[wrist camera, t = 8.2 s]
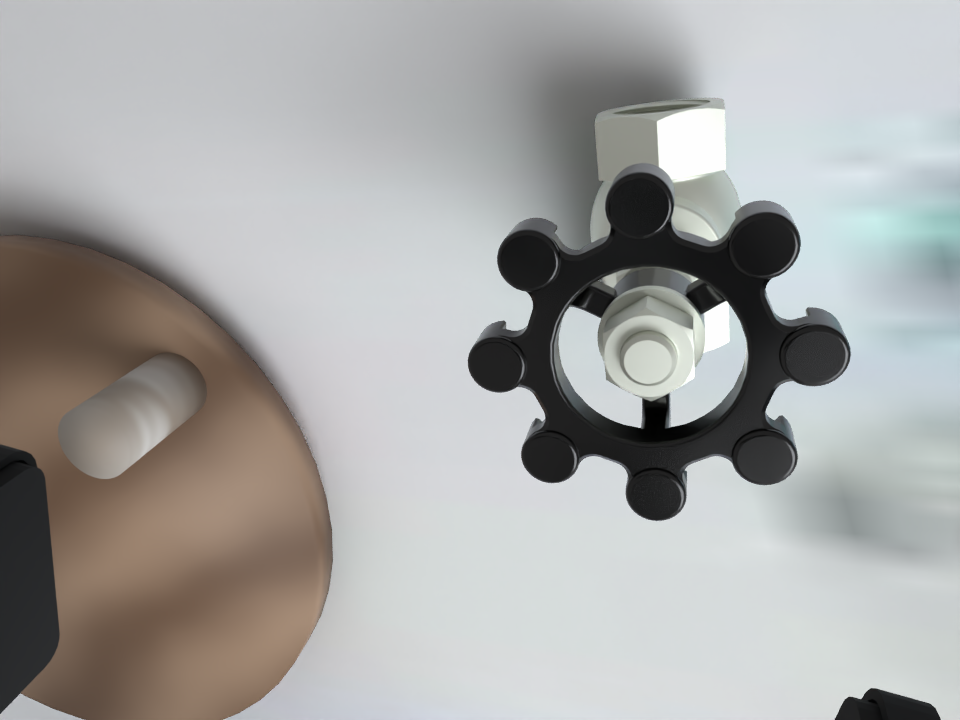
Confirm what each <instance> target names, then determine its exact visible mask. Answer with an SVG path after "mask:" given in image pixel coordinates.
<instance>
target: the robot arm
mask: <svg viewBox="0 0 960 720" xmlns="http://www.w3.org/2000/svg"><path fill="white" fill-rule="evenodd" d="M59 638H60V631H59V620H58V610H57V599H56V588H55V577H54V567H53V556H52V545H51V535H50V524H49V513H48V502H47V492H46V481H45V476H44V473H43V472H42V470H41V469H39V468H37V464H36V460H35V458H34V457H33V456H32V454H30V453H28V452H26V451H23V450H19V449H16V448H12V447H9V446H5V445H1V444H0V713H1V712H2V711H3V710H4V709H5V708H6V707H7V706H8V705H9V704H10V703H11V702H12V701H13V700H14V699H15V698H16V697H17V696H18V695H19V694H20V693H21V692H22V691H23V690H24V689H25V688H26V687H27V686H28V685H29V684H30V683H31V682H32V681H33V680H34V678H35V677H36V676H37V675H38V674H39V673H40V672H41V671H42V670H43V669H44V668H45V667H46V666H47V665H48V663H49V662H50V661H51V659H52V657H53V656H54V654H55V652H56V649H57V647H58V643H59ZM835 720H941V719H940V717H939V715H938V713H937V711H936V709H935V708H934V707H933V706H932V705H931V704H929V703H926V702H922V701H919V700H915V699H911V698H908V697H904V696H901V695H897V694H893V693H890V692H886V691H883V690H879V689H874V688H871V689H869V690H868V691H867V692H866V693H865V694H864V696H863V698H862V699H857V698H854V697H848V698H847V699H845V701H844V702H843V704H842V706H841V708H840V710H839V712H838V714H837V716H836V718H835Z"/></svg>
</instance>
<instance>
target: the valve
mask: <svg viewBox="0 0 960 720" xmlns="http://www.w3.org/2000/svg"><path fill="white" fill-rule="evenodd" d="M594 124H595V137H596V151H597V164H598V178H599V181H603V183H602V185H601V187H600V189H599V190H598V193H597V196H596V198H595V201H594V204H593V209H592V213H591V222H590V235H591V243H590V244H588V245H586V246H585V247H583V248H582V249H580V250H572V249H569V248H567V247H566V246H565V245H564V244H563V243H562V242H561V241H560V239H559V238H558V236H557V235H556V234H555V231H556V230H557V226H556V225H555V224H554V223H552V222H550V221H548V220H546V219H542V218H530V219H527V220H524V221H522V222H520V223H519V224H517V225H516V226H515V227H514V228H513V230H512V231H511V232H510V233H509V234H508V236H507V237H506V238H505V239H504V241H503V242H502V244H501V245H500V248H499V250H498V255H497V263H498V268H499V271H500V273H501V275H502V277H503V278H504V279H505V280H506V282H507V283H509V284H510V285H511V286H513V287H514V288H516V289H519V290H522V291H526V292H527V293H528V294H529V295H530V296H531V298H532V301H533V310H532V314H531V317H530V320H529V323H528V326H527V327H526V328H524V329H522V330H519V331H511V330H507V329H506V322H505V321H498V322H495V323H492V324H491V325H489V326H488V327H486V328H485V329H484V331H483V332H482V333H481V335H480V337H479V338H478V340H477V341H476V343H475V344H474V346H473V347H472V349H471V351H470V353H469V357H468V368H469V372H470V374H471V376H472V378H473V379H474V380H475V382H476V383H477V384H478V385H480V386H481V387H482V388H484V389H486V390H489V391H492V392H498V393H502V392H508V391H510V390H513V389H515V388H516V387H523V388H526V389H528V390H530V391H531V392H532V393H533V394H534V395H535V396H536V398H537V400H538V402H539V403H540V405H541V407H542V409H543V411H544V413H545V418H546V419H545V420H544V421H543V422H542V421H541V420H540V419H537V418H536V419H535V420H534V421H533V422H532V424H531V426H530V429H529V431H528V434H527V437H526V439H525V442H524V444H523V447H522V451H521V458H522V462H523V465H524V467H525V468H526V470H527V471H528V472H529V473H530V474H531V475H532V476H533V477H534V478H536V479H538V480H540V481H543V482H547V483H559V482H562V481H565V480H567V479H569V478H570V477H571V476H572V475H573V474H574V473H575V472H576V470H577V468H578V465H579V463H580V462H581V461H582V460H583V459H584V458H586V457H589V456H598V457H602V458H604V459H607V460H610V461H613V462H616V463H618V464H620V465H622V466H623V467H624V468H625V470H626V471H627V473H628V478H627V485H626V499H627V502H628V504H629V506H630V507H631V509H632V510H633V511H634V512H635V513H637V514H638V515H639V516H641V517H643V518H646V519H648V520H654V521H661V520H667V519H670V518H672V517H674V516H676V515H677V514H678V513H679V512H680V511H681V510H682V508H683V507H684V505H685V502H686V492H687V471H685V468H686V467H687V466H688V465H690V464H692V463H694V462H697V461H700V460H703V459H706V458H709V457H712V456H721V457H724V458H727V459H728V460H730V461H731V462H732V464H733V466H734V468H735V470H736V472H737V473H738V474H739V475H740V476H741V477H742V478H744V479H745V480H747V481H749V482H751V483H754V484H758V485H772V484H775V483H779V482H781V481H783V480H785V479H786V478H787V477H788V476H790V475H791V473H792V472H793V471H794V469H795V467H796V464H797V460H798V454H797V449H796V445H795V441H794V437H793V432H792V428H791V426H790V424H789V422H788V421H787V419H786V418H785V417H784V416H779V417H778V418H777V419H776V420H772V419H771V418H769V417H768V415H767V414H766V413H765V411H766V408H767V406H768V404H769V401H770V399H771V397H772V395H773V393H774V391H775V390H776V388H777V387H778V386H780V385H781V384H783V383H785V382H788V381H795V382H797V383H799V384H802V385H806V386H821V385H825V384H828V383H830V382H832V381H834V380H836V379H837V378H838V377H839V376H841V375H842V374H843V372H844V371H845V370H846V368H847V366H848V364H849V362H850V356H851V351H850V346H849V343H848V340H847V338H846V336H845V334H844V332H843V330H842V328H841V325H840V323H839V322H838V320H837V319H836V318H835V317H834V316H833V315H832V314H831V313H829V312H827V311H825V310H823V309H819V308H809V307H808V308H807V309H806V316H805V317H802V318H798V319H795V320H786V319H783V318H780V317H779V316H777V315H776V314H775V313H774V311H773V309H772V306H771V304H770V301H769V299H768V297H767V294H766V290H765V288H766V285H767V283H768V282H769V280H770V279H771V278H774V277H776V276H779V275H781V274H782V273H784V272H786V271H787V270H788V269H789V268H790V267H791V266H792V265H793V264H794V262H795V261H796V259H797V257H798V254H799V252H800V246H801V240H800V235H799V232H798V230H797V227H796V225H795V223H794V221H793V219H792V217H791V215H790V214H789V212H788V211H787V210H786V209H785V208H783V207H782V206H781V205H779V204H777V203H774V202H771V201H755V202H751V203H748V204H746V205H744V206H742V207H741V205H740V201H739V198H738V194H737V192H736V189H735V187H734V185H733V183H732V181H731V180H730V178H729V176H728V175H727V173H726V172H725V171H724V170H726V144H725V107H724V100H723V99H719V98H690V99H676V100H665V101H656V102H648V103H641V104H635V105H628V106H623V107H618V108H613V109H609V110H605V111H602V112H600V113H598V114H597V116H596V119H595V123H594ZM601 278H602V280H603V283H601V282H599V281H598V280H600V279H601ZM729 305H730V306H731V307H732V309H733V310H734V312H735V314H736V315H737V317H738V319H739V320H740V322H741V325H742V328H743V331H744V334H745V337H746V354H745V361H744V365H743V369H742V371H741V373H740V375H739V377H738V379H737V382H736V384H735V386H734V388H733V389H732V390H731V391H730V393H729V394H728V395H727V396H726V397H725V399H724V400H723V401H722V402H721V403H720V404H719V405H718V406H717V407H716V408H715V409H713V410H712V411H710V412H709V413H708V414H706V415H705V416H703V417H701V418H699V419H697V420H695V421H692V422H690V423H687V424H685V425H680V426H675V427H671V410H670V392H672V391H674V390H676V389H678V388H679V387H681V386H683V385H684V384H686V383H687V382H689V381H690V380H692V379H693V378H695V367H696V366H697V365H698V363H699V361H700V359H701V357H702V355H703V353H705V352H708V351H711V350H713V349H716V348H718V347H720V346H722V345H724V344H726V343H728V342H729ZM569 307H576V308H579V309H582V310H585V311H587V312H589V313H591V314H593V315H595V316H597V317H599V318H601V322H600V325H599V329H598V346H599V351H600V354H601V356H602V358H603V360H604V362H605V372H606V380H608V381H609V382H611V383H613V384H614V385H616V386H618V387H620V388H622V389H623V390H625V391H627V392H629V393H632V394H634V395H636V396H638V397H641V398H642V424H641V428H637V427H632V426H627V425H623V424H620V423H617V422H614V421H612V420H610V419H608V418H606V417H604V416H602V415H601V414H599V413H598V412H596V411H595V410H593V409H592V408H591V407H590V406H588V405H587V404H586V403H585V402H584V401H583V399H582V398H581V397H580V396H579V395H578V394H577V393H576V392H575V391H574V389H573V387H572V386H571V384H570V382H569V380H568V379H567V377H566V375H565V373H564V370H563V367H562V365H561V360H560V356H559V347H558V340H559V331H560V327H561V322H562V318H563V316H564V313H565V312H566V310H567V309H568V308H569Z"/></svg>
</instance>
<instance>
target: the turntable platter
mask: <svg viewBox="0 0 960 720" xmlns="http://www.w3.org/2000/svg"><path fill="white" fill-rule="evenodd" d="M0 444H1V445H5V446H9V447H12V448H16V449H19V450H23V451H26V452H28V453H30V454H32V456H33V457H34V458H35V460H36V464H37V468H39V469H41V470H42V472H43V473H44V476H45V481H46V492H47V502H48V513H49V524H50V535H51V545H52V556H53V567H54V577H55V588H56V599H57V610H58V620H59V631H60V638H59V643H58V647H57V649H56V652H55V654H54V656H53V657H52V659H51V661H50V662H49V663H48V665H47V666H46V667H45V668H44V669H43V670H42V671H41V672H40V673H39V674H38V675H37V676H36V677H35V678H34V680H33V681H32V682H31V683H30V684H29V685H28V686H27V687H26V688H25V689H24V690H23V691H22V692H21V694H23V695H25V696H27V697H29V698H31V699H33V700H35V701H38V702H40V703H42V704H44V705H46V706H49V707H51V708H53V709H56V710H59V711H61V712H64V713H67V714H70V715H73V716H76V717H78V718H81V719H85V720H223V719H225V718H228V717H230V716H233V715H235V714H238V713H240V712H241V711H243V710H245V709H246V708H248V707H250V706H251V705H253V704H254V703H256V702H258V701H259V700H261V699H262V698H263V697H264V696H265V695H266V694H267V693H269V692H270V691H271V690H272V689H273V688H274V687H275V686H276V685H278V684H279V682H280V681H281V680H282V678H283V677H284V676H285V675H286V673H287V672H288V671H289V669H290V668H291V667H292V665H293V664H294V663H295V661H296V659H297V658H298V656H299V654H300V653H301V651H302V649H303V648H304V646H305V644H306V643H307V641H308V640H309V638H310V636H311V634H312V632H313V630H314V628H315V626H316V624H317V622H318V620H319V618H320V616H321V614H322V611H323V607H324V604H325V601H326V597H327V594H328V591H329V585H330V578H331V570H332V562H333V554H332V528H331V522H330V516H329V510H328V504H327V498H326V495H325V492H324V488H323V485H322V482H321V479H320V475H319V472H318V469H317V466H316V463H315V461H314V458H313V456H312V454H311V452H310V450H309V447H308V445H307V443H306V441H305V438H304V436H303V434H302V432H301V430H300V428H299V426H298V425H297V423H296V421H295V419H294V418H293V416H292V414H291V413H290V411H289V409H288V408H287V406H286V404H285V403H284V401H283V399H282V398H281V396H280V395H279V393H278V392H277V391H276V389H275V388H274V387H273V385H272V384H271V383H270V381H269V380H268V379H267V377H266V376H265V375H264V373H263V372H262V371H261V369H260V368H259V367H258V365H257V364H256V363H255V362H254V361H253V360H252V359H251V358H250V357H249V356H248V354H247V353H246V352H245V351H244V350H243V349H242V348H241V347H240V346H239V345H238V344H237V343H236V342H235V340H234V339H233V338H232V337H231V336H230V335H229V334H228V333H227V332H226V331H224V330H223V329H222V328H221V327H220V326H219V325H218V324H216V323H215V322H214V321H213V320H212V319H211V318H209V317H208V316H207V315H206V314H205V313H204V312H203V311H201V310H200V309H199V308H198V307H197V306H195V305H194V304H192V303H191V302H190V301H188V300H187V299H185V298H184V297H182V296H181V295H180V294H178V293H177V292H175V291H174V290H172V289H171V288H170V287H168V286H167V285H165V284H164V283H162V282H160V281H158V280H157V279H155V278H153V277H151V276H149V275H147V274H146V273H144V272H142V271H140V270H138V269H136V268H135V267H133V266H131V265H129V264H127V263H125V262H122V261H120V260H117V259H115V258H112V257H110V256H107V255H105V254H102V253H100V252H97V251H95V250H93V249H89V248H85V247H82V246H78V245H74V244H70V243H67V242H63V241H59V240H55V239H47V238H39V237H32V236H24V235H4V236H0Z"/></svg>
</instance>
